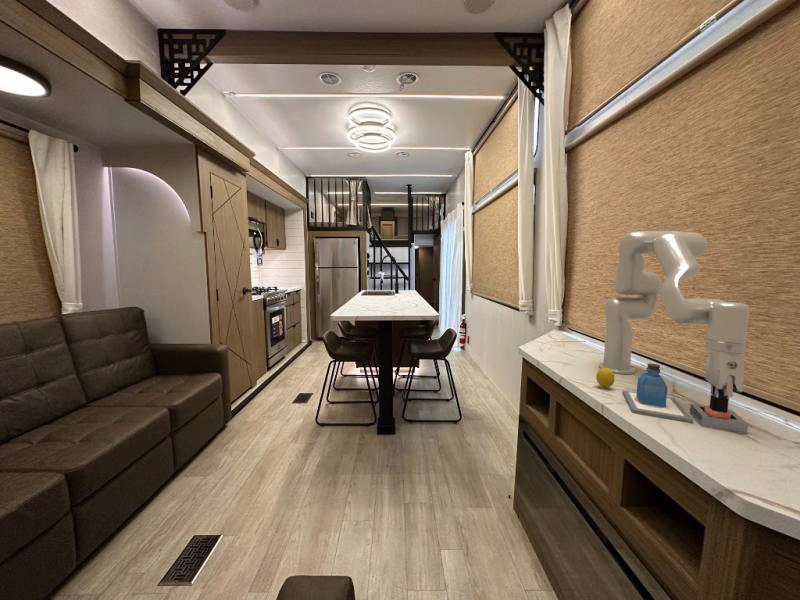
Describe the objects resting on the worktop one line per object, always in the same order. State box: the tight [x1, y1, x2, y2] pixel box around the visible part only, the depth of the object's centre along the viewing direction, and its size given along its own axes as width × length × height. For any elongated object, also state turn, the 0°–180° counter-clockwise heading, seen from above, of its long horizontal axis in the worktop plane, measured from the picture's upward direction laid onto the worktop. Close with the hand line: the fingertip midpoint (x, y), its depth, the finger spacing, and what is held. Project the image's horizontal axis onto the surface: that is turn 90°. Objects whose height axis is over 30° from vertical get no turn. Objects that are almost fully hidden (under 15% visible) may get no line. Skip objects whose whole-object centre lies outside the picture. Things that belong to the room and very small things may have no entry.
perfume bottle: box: [636, 363, 668, 408], centre depth 98 cm, size 6×6×12 cm
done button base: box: [689, 403, 749, 435], centre depth 88 cm, size 9×9×3 cm
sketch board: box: [621, 389, 694, 424], centre depth 98 cm, size 17×14×1 cm
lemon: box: [595, 367, 615, 389], centre depth 113 cm, size 6×6×8 cm
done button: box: [704, 405, 731, 419], centre depth 88 cm, size 5×5×3 cm
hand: (718, 410), depth 88 cm, fingers closed
